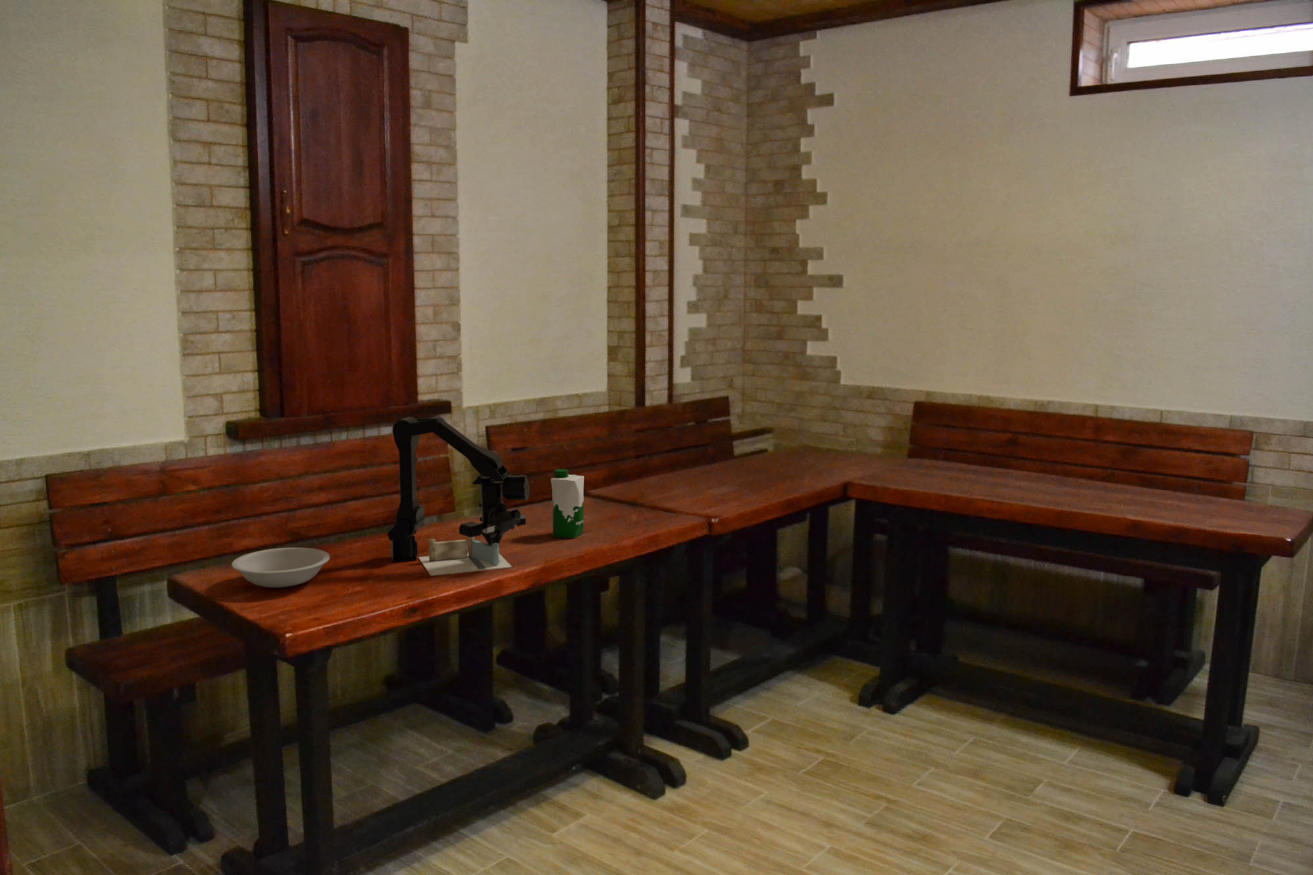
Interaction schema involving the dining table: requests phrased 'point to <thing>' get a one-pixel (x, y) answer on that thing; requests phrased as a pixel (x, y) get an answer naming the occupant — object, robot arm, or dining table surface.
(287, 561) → the soup bowl
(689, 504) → the dining table surface
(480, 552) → the fence flap
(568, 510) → the milk carton
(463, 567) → the card
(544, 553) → the dining table surface
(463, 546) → the fence fixed
